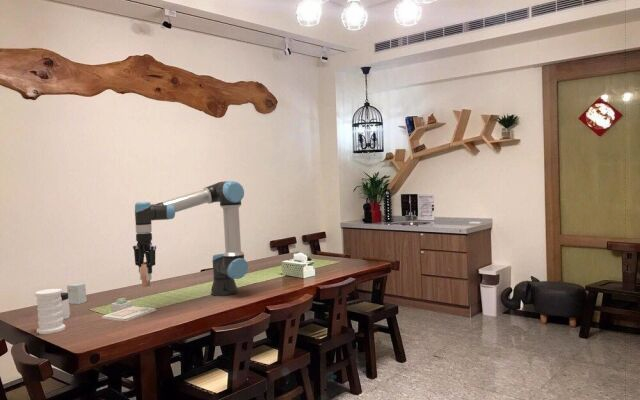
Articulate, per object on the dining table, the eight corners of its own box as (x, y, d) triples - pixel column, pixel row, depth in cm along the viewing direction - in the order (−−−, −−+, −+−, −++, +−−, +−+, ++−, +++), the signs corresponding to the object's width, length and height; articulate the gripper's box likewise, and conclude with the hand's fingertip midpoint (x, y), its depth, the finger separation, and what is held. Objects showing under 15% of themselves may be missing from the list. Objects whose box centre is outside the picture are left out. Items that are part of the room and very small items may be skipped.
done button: (127, 305, 266) (127, 298, 266) (121, 307, 262) (121, 300, 262) (122, 305, 268) (121, 297, 267) (115, 307, 264) (115, 299, 264)
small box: (86, 301, 286) (85, 283, 285) (79, 304, 280) (77, 285, 280) (75, 301, 288) (74, 283, 288) (67, 303, 283) (66, 285, 282)
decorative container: (30, 333, 227) (28, 293, 227) (52, 325, 238) (50, 287, 237) (49, 334, 223) (47, 294, 222) (71, 327, 234) (68, 288, 233)
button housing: (132, 307, 266) (132, 301, 266) (121, 311, 260) (121, 304, 260) (122, 306, 270) (122, 300, 270) (111, 310, 263) (110, 303, 263)
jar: (66, 314, 258) (64, 291, 257) (73, 317, 252) (72, 293, 252) (47, 319, 251) (46, 295, 250) (54, 321, 246) (53, 297, 245)
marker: (152, 285, 254) (151, 261, 253) (146, 286, 250) (145, 262, 249) (146, 284, 255) (145, 261, 255) (140, 286, 252) (139, 262, 251)
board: (156, 310, 258) (156, 308, 258) (125, 321, 240) (125, 318, 240) (133, 308, 265) (133, 306, 265) (101, 318, 247) (101, 316, 247)
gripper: (162, 232, 252) (164, 279, 252) (137, 232, 259) (139, 277, 259) (151, 234, 245) (153, 282, 246) (125, 233, 252) (127, 280, 253)
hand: (145, 279), depth 252 cm, fingers closed on marker, 3 cm apart
